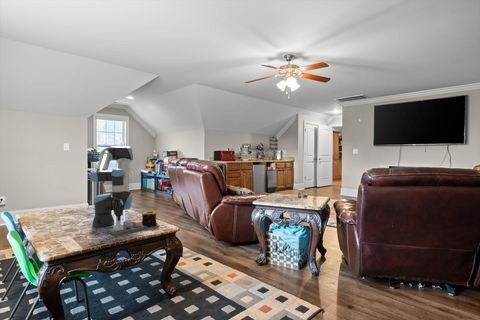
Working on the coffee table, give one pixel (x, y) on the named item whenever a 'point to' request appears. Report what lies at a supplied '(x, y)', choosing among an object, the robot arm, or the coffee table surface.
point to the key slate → (128, 224)
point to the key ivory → (118, 227)
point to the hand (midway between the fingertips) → (118, 225)
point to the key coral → (137, 223)
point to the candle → (149, 218)
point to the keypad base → (127, 230)
